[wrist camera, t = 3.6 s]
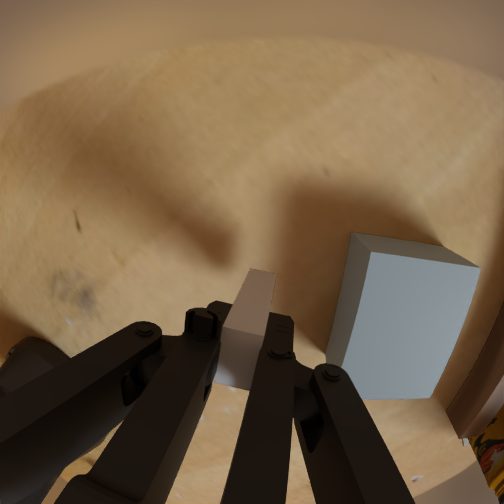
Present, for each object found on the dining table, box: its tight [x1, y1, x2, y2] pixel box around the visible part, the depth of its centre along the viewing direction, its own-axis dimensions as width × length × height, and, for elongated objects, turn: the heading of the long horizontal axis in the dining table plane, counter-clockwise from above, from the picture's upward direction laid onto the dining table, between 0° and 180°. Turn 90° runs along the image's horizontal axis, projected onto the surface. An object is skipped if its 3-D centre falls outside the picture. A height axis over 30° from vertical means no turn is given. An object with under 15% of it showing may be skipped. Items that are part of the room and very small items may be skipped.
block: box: [325, 232, 481, 400], centre depth 16 cm, size 7×9×5 cm
